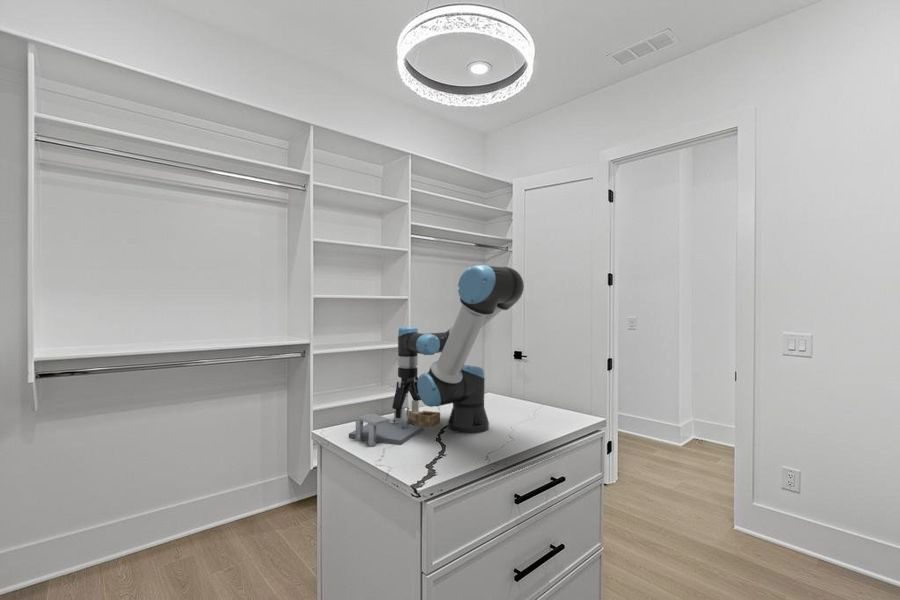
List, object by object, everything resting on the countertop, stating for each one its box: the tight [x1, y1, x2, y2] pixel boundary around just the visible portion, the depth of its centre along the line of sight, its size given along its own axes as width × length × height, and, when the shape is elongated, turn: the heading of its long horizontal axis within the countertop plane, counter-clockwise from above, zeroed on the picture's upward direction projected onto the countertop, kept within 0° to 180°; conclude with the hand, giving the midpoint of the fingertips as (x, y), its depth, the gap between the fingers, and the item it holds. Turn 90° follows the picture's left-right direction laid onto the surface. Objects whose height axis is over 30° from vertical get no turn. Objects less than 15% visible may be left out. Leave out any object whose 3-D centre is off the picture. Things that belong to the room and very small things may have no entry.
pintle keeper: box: [355, 407, 410, 447], centre depth 152 cm, size 13×19×8 cm
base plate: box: [348, 422, 424, 446], centre depth 155 cm, size 20×17×2 cm
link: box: [393, 410, 441, 429], centre depth 170 cm, size 17×7×4 cm, turn 69°
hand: (407, 421), depth 171 cm, fingers open, 13 cm apart
